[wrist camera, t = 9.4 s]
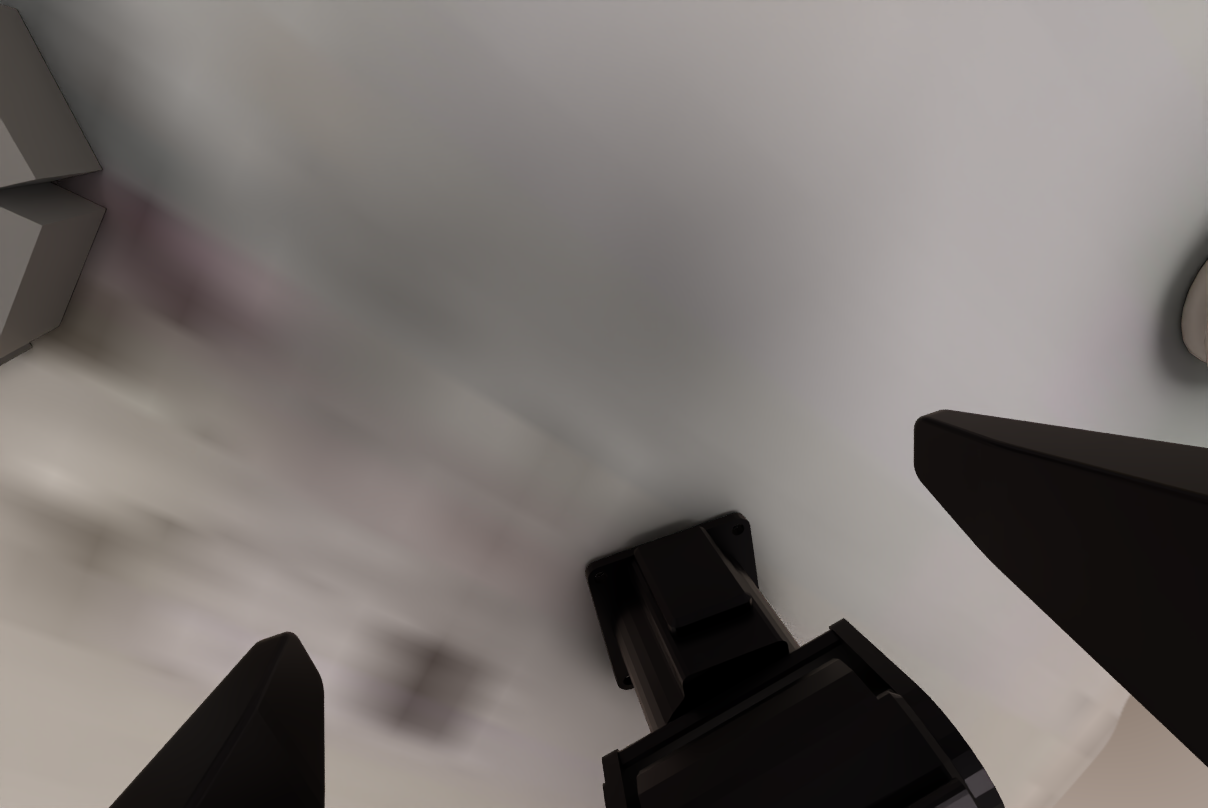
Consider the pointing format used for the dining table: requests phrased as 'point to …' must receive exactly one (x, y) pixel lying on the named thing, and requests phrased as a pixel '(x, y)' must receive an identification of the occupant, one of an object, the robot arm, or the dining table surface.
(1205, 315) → the flower vase
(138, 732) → the dining table surface
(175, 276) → the dining table surface
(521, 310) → the dining table surface
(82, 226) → the valve fitting
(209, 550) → the dining table surface
